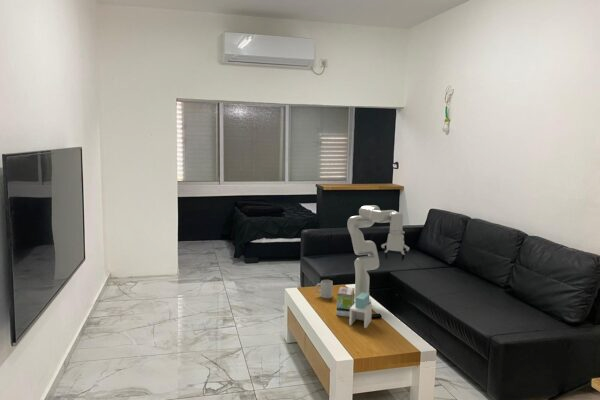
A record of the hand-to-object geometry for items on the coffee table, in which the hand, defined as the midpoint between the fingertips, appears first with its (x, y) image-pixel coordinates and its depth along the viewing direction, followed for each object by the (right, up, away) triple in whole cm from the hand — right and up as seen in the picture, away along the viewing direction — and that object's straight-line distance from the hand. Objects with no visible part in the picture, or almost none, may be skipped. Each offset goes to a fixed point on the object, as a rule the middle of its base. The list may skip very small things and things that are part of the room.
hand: (394, 259), depth 284 cm
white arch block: (-21, -39, -2) cm, 44 cm away
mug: (-41, -32, +44) cm, 68 cm away
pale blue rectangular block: (-20, -28, -1) cm, 34 cm away
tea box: (-29, -36, +15) cm, 49 cm away
